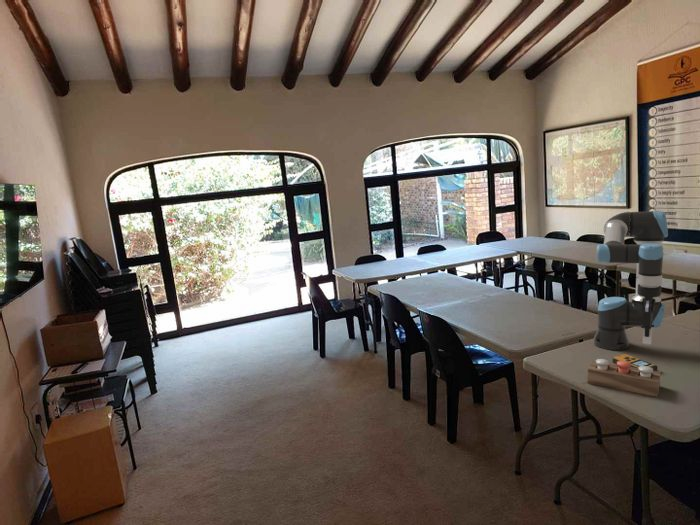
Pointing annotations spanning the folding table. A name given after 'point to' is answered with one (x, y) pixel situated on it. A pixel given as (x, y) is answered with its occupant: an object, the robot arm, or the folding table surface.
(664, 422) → the folding table surface
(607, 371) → the socket block
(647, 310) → the robot arm
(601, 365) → the grey plug
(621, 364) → the red plug
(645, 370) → the grey plug
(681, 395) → the folding table surface
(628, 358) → the electronic device
